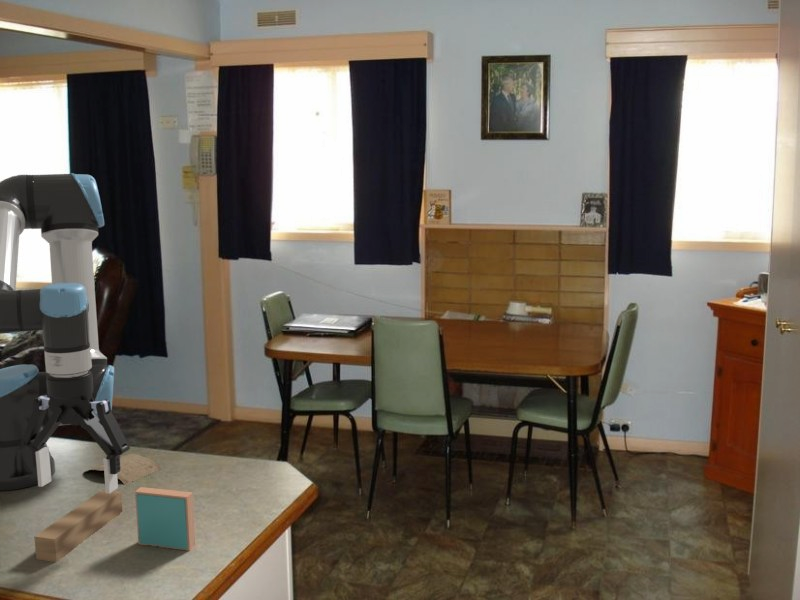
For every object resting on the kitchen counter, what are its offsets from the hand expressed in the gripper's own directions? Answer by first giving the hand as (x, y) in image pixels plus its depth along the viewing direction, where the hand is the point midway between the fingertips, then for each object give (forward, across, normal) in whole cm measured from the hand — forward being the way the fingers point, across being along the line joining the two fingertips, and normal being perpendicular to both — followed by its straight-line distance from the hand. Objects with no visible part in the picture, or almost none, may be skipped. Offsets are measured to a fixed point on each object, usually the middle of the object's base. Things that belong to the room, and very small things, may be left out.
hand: (78, 487), depth 152 cm
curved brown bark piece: (+10, -9, +28) cm, 31 cm away
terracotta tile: (+10, +17, 0) cm, 19 cm away
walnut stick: (+10, 0, 0) cm, 10 cm away
